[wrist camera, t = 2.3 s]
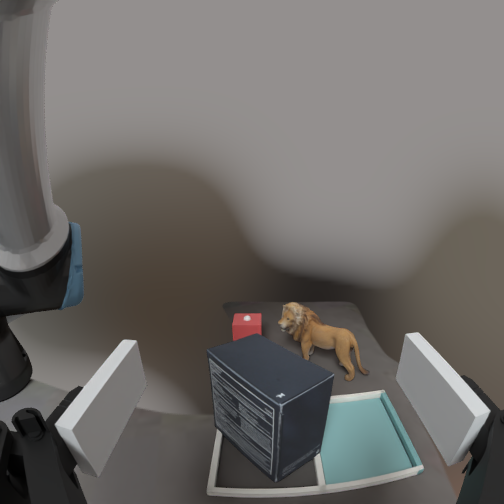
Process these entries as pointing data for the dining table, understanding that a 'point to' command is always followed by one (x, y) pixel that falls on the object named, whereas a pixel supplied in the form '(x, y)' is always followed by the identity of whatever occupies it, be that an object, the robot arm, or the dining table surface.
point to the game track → (346, 450)
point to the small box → (269, 403)
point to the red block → (246, 325)
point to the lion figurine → (320, 336)
